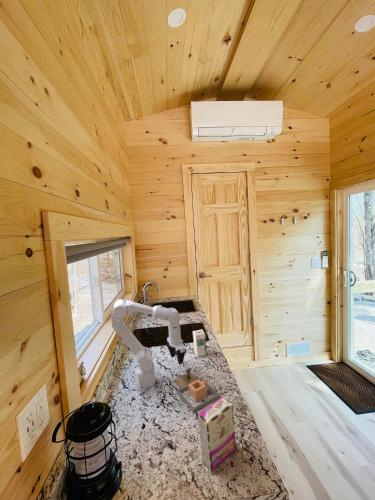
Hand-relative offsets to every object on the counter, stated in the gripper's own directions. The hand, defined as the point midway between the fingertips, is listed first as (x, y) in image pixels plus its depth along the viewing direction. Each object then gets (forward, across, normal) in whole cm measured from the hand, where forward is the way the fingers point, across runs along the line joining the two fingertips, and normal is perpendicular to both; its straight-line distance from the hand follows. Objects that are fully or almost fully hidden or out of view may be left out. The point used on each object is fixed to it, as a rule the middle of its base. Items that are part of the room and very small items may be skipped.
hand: (176, 360), depth 115 cm
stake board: (+9, -5, -1) cm, 11 cm away
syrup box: (+10, +9, -20) cm, 24 cm away
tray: (+9, -17, 0) cm, 19 cm away
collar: (+9, -17, 0) cm, 19 cm away
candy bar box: (+10, -42, +9) cm, 44 cm away
